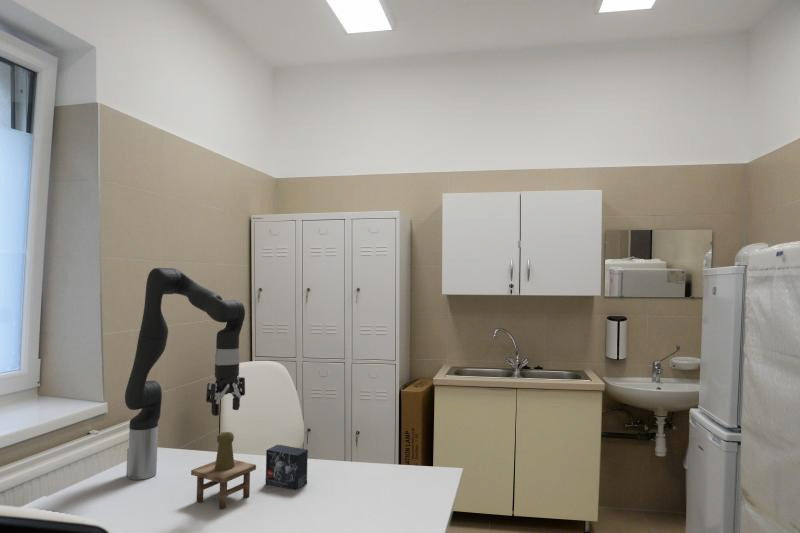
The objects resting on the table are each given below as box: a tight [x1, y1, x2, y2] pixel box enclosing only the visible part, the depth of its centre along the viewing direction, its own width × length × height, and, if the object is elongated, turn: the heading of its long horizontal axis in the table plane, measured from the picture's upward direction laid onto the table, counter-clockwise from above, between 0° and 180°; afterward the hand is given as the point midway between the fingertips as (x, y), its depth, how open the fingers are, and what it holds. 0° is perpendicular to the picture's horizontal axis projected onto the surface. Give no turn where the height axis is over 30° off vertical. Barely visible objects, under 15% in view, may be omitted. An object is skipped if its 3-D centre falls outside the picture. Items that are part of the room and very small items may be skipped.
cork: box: [215, 431, 235, 470], centre depth 170 cm, size 6×6×11 cm
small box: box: [265, 444, 309, 491], centre depth 183 cm, size 13×7×12 cm, turn 68°
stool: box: [190, 459, 257, 510], centre depth 170 cm, size 14×14×10 cm
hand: (225, 412), depth 170 cm, fingers open, 8 cm apart
